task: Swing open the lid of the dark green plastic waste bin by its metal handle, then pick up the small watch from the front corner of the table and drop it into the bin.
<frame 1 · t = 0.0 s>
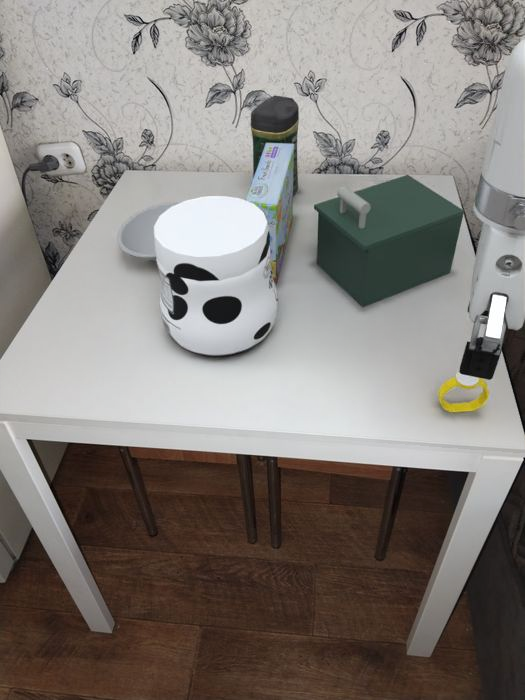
hand: (478, 342, 62), 16 cm above the table, tool pointing down, fingers open, 9 cm apart
coffee jar: (276, 196, 118), on the table
bin: (382, 268, 99), on the table
bin lid: (389, 197, 90), point 13 cm above the table, hinge at 0.0°
watch: (459, 409, 77), on the table
snack box: (272, 249, 105), on the table
dish: (166, 252, 105), on the table
doce de leite jar: (221, 327, 90), on the table
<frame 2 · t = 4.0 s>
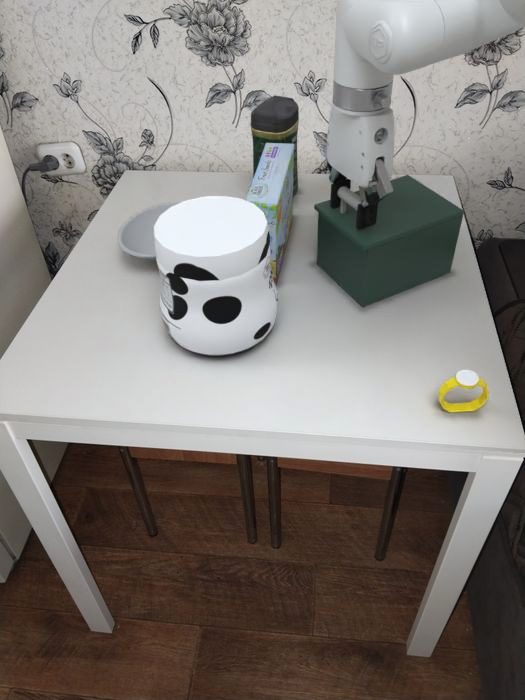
hand: (352, 214, 88), 12 cm above the table, tool pointing down, fingers closed on bin lid, 6 cm apart
bin lid: (389, 197, 90), point 13 cm above the table, hinge at 0.0°, touching gripper
everything else where it was.
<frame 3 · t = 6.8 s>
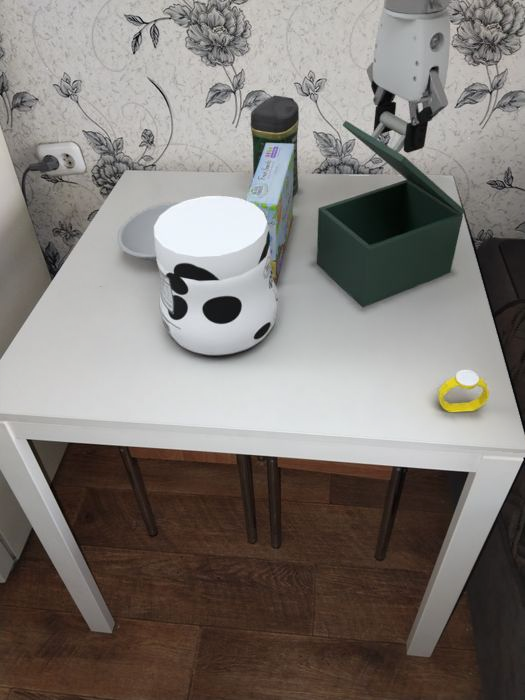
hand: (398, 139, 84), 22 cm above the table, tool pointing down, fingers closed on bin lid, 6 cm apart
bin lid: (414, 156, 87), point 19 cm above the table, hinge at 42.1°, touching gripper
everything else where it was.
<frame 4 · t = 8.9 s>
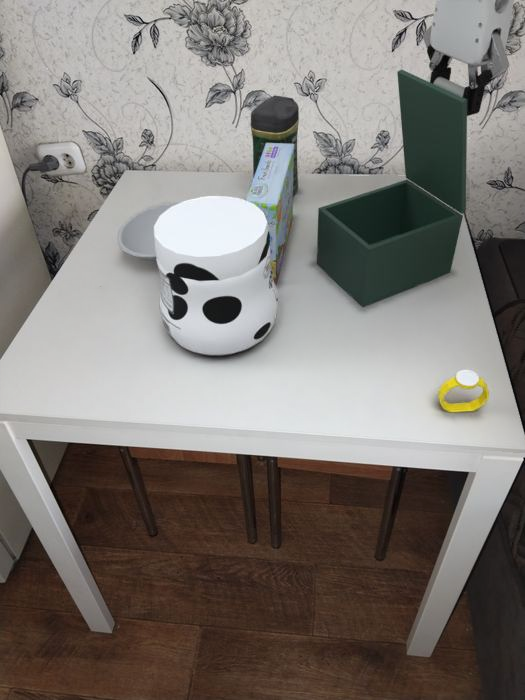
hand: (452, 104, 85), 25 cm above the table, tool pointing down, fingers closed on bin lid, 6 cm apart
bin lid: (443, 137, 88), point 21 cm above the table, hinge at 76.0°, touching gripper
everything else where it was.
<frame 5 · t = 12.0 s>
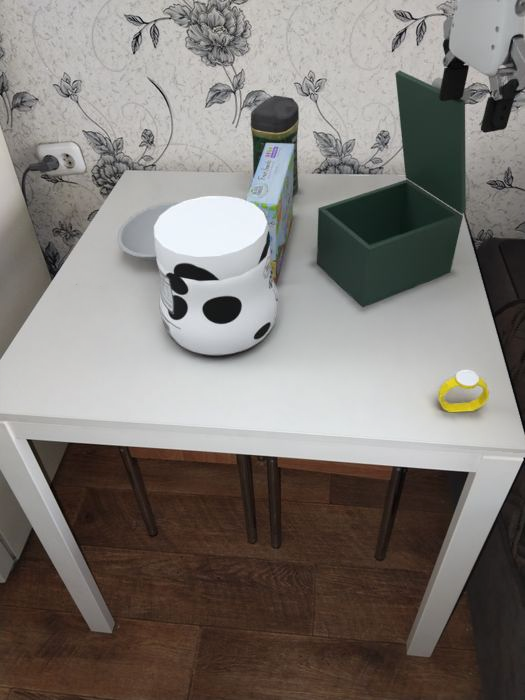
hand: (470, 113, 73), 29 cm above the table, tool pointing down, fingers open, 9 cm apart
bin lid: (442, 137, 88), point 21 cm above the table, hinge at 74.9°, touching gripper
everything else where it was.
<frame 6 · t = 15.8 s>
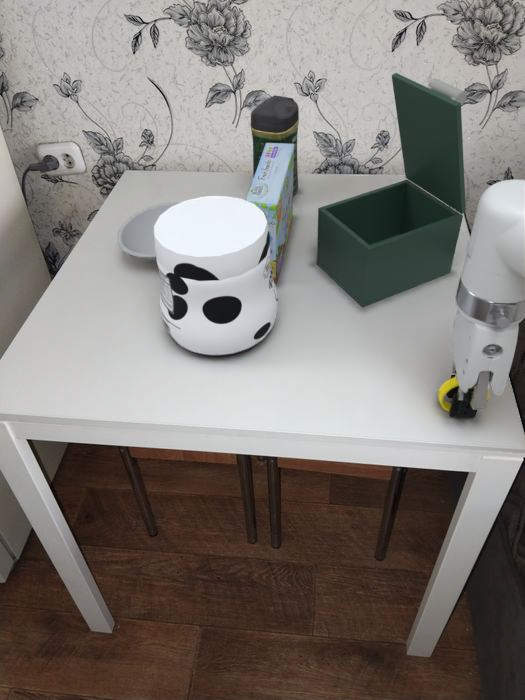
hand: (460, 405, 76), 1 cm above the table, tool pointing down, fingers closed on watch, 2 cm apart
bin lid: (441, 138, 88), point 21 cm above the table, hinge at 72.8°
watch: (459, 409, 77), on the table, touching gripper
everything else where it was.
when the fingers open (9 cm above the table, at t = 26.1 s): watch drops 7 cm, resting on bin.
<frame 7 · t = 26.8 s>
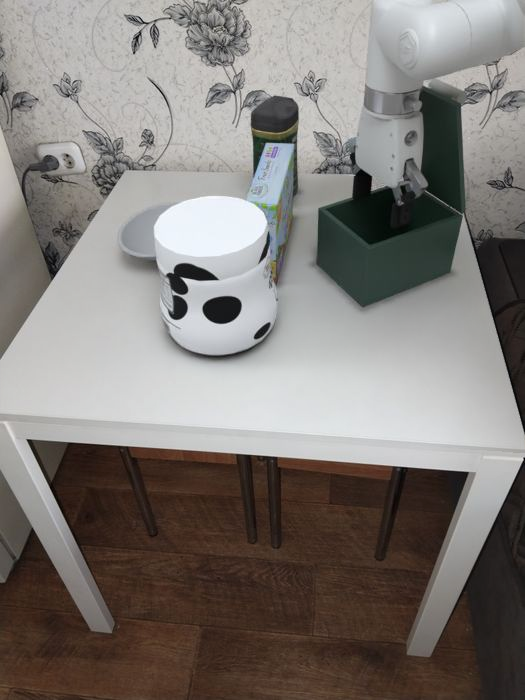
hand: (379, 210, 91), 12 cm above the table, tool pointing down, fingers open, 9 cm apart
watch: (372, 268, 97), point 1 cm above the table, touching bin
everything else where it was.
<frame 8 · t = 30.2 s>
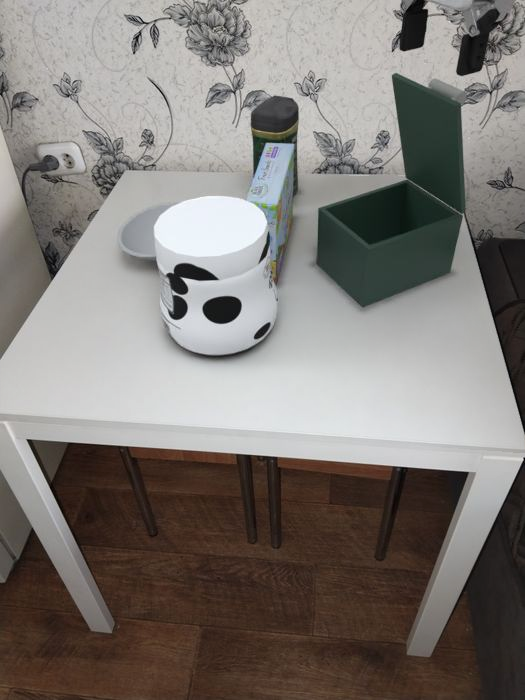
hand: (438, 60, 67), 36 cm above the table, tool pointing down, fingers open, 9 cm apart
nothing on the table moved.
at the end: bin lid at +73° (first picture: +0°); watch inside the target area in the bin (2.5 cm from its centre), point 1.2 cm above the bin's base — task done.
